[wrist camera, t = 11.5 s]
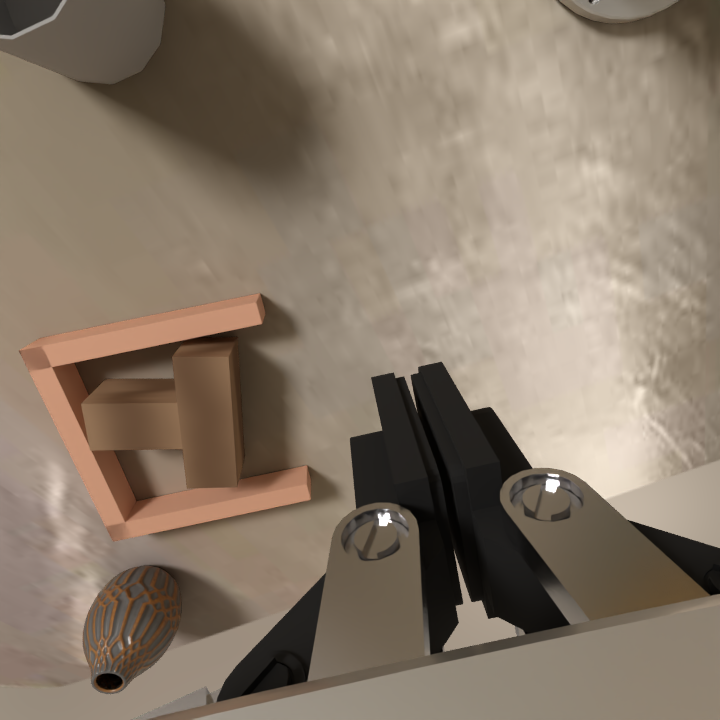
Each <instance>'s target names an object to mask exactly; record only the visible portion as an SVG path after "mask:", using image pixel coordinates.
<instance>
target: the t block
mask: <svg viewBox="0 0 720 720" xmlns="http://www.w3.org/2000/svg"><path fill="white" fill-rule="evenodd" d="M172 362H173V371H174V379H105V380H104V381H103V382H102V383H101V384H100V385H99V386H98V387H97V388H96V389H95V390H94V391H93V392H92V393H91V394H90V395H89V396H88V397H87V398H86V399H85V400H84V401H83V402H82V403H81V407H82V412H83V417H84V422H85V427H86V432H87V437H88V442H89V447H90V451H96V450H154V449H182V450H183V458H184V467H185V476H186V485H187V489H190V488H229V487H238V483H239V478H240V474H241V470H242V466H243V462H244V457H245V452H244V435H243V418H242V401H241V385H240V368H239V351H238V337H196V338H191V339H186V340H184V342H183V343H182V344H181V346H180V347H179V348H178V350H177V351H176V352H175V353H174V355H173V356H172Z"/></svg>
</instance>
